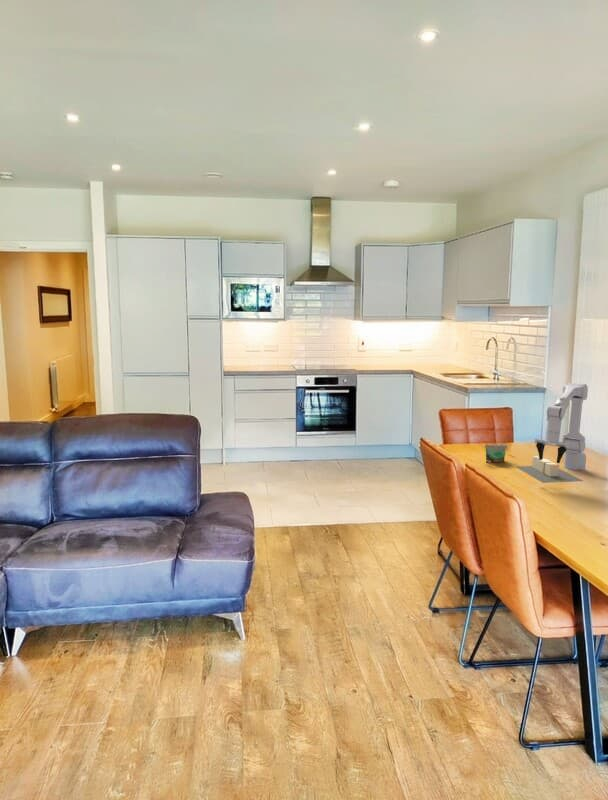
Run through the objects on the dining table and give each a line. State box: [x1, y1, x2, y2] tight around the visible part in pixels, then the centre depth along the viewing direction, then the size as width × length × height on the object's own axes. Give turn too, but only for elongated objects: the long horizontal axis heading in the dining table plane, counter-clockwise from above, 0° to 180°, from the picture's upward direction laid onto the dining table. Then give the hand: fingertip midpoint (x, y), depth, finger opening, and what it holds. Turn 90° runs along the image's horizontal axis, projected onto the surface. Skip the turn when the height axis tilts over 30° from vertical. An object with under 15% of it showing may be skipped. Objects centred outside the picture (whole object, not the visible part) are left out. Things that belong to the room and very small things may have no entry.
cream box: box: [531, 455, 554, 473], centre depth 271 cm, size 4×11×6 cm, turn 6°
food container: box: [484, 442, 508, 465], centre depth 285 cm, size 12×6×10 cm, turn 105°
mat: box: [515, 465, 584, 484], centre depth 266 cm, size 20×26×1 cm
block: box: [544, 462, 560, 476], centre depth 263 cm, size 4×5×5 cm
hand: (549, 461), depth 252 cm, fingers open, 7 cm apart
